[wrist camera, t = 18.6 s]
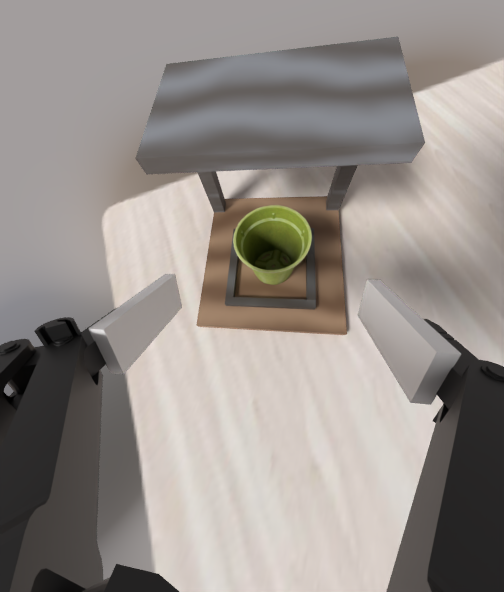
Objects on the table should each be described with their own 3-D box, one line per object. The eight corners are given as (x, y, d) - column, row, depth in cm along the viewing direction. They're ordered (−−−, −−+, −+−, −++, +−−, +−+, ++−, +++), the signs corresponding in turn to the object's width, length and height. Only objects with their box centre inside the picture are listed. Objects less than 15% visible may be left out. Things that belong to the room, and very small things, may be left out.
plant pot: (264, 307, 30) (260, 287, 22) (233, 261, 33) (219, 229, 25) (314, 274, 31) (328, 244, 23) (280, 233, 34) (281, 192, 26)
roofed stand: (344, 335, 29) (462, 291, 11) (199, 326, 32) (95, 280, 13) (335, 201, 36) (398, 36, 18) (217, 203, 39) (166, 64, 21)
